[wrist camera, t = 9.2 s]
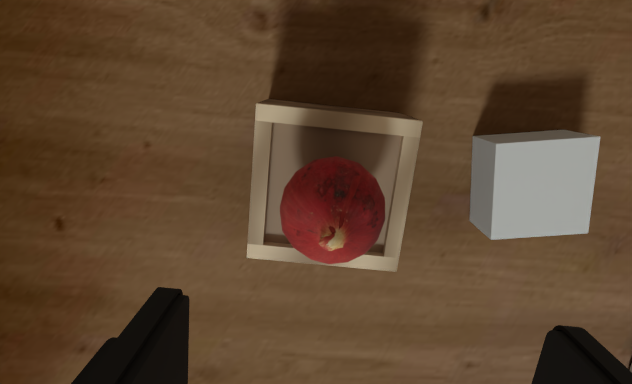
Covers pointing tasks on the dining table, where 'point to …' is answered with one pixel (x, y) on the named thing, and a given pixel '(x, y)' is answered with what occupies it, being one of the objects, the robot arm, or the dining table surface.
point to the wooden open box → (322, 142)
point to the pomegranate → (332, 210)
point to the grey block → (533, 183)
